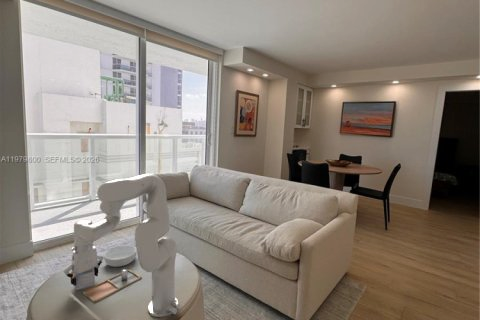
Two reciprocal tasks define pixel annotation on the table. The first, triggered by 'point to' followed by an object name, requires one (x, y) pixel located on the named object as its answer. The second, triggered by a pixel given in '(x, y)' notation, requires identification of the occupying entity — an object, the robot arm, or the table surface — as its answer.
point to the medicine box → (85, 279)
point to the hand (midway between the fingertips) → (85, 279)
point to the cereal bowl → (120, 255)
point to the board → (110, 286)
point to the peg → (124, 275)
